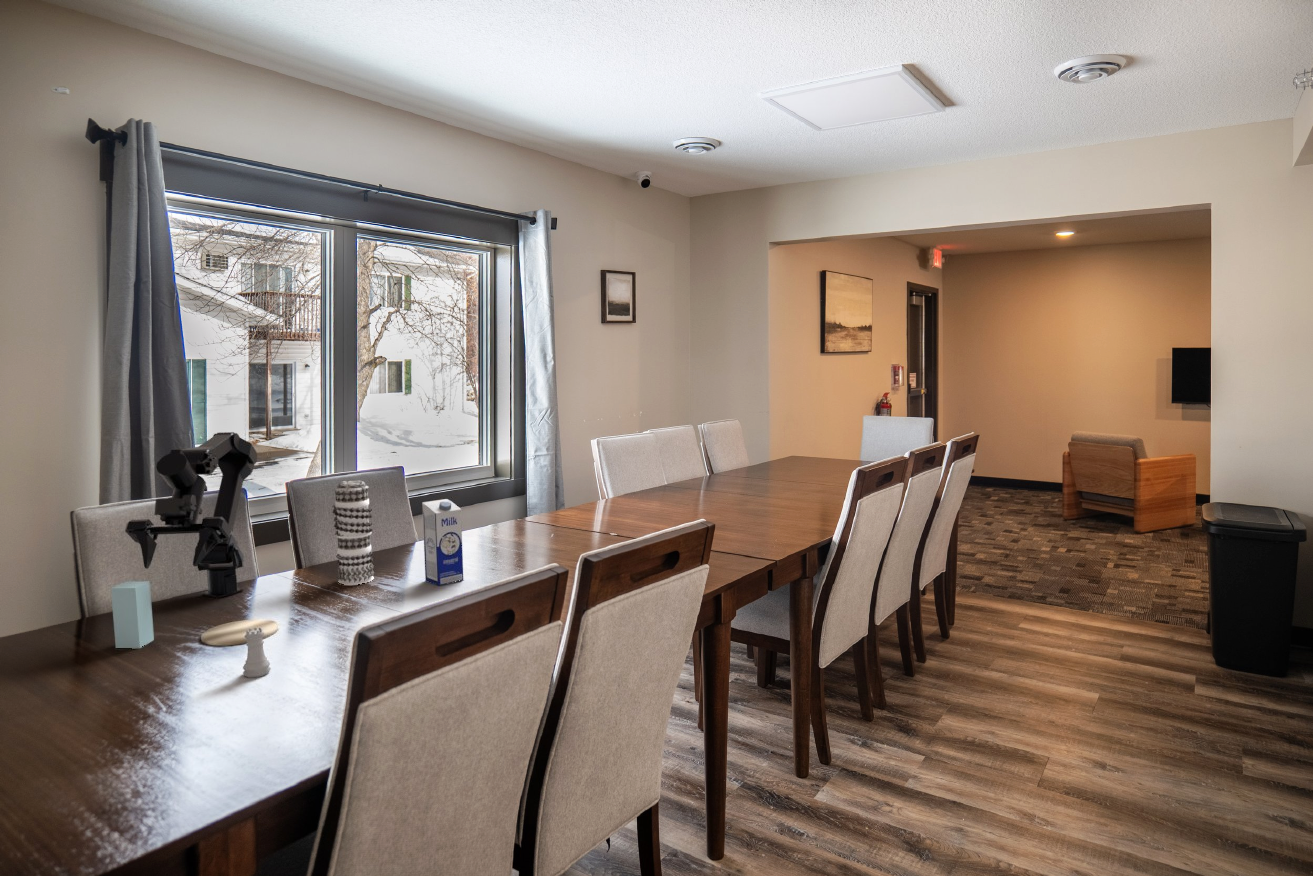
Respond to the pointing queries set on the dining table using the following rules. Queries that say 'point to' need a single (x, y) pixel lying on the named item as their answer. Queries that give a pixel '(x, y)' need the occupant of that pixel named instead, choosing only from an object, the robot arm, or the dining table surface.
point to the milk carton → (442, 542)
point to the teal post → (132, 614)
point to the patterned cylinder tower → (353, 533)
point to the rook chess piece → (255, 655)
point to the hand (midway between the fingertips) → (170, 566)
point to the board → (237, 632)
